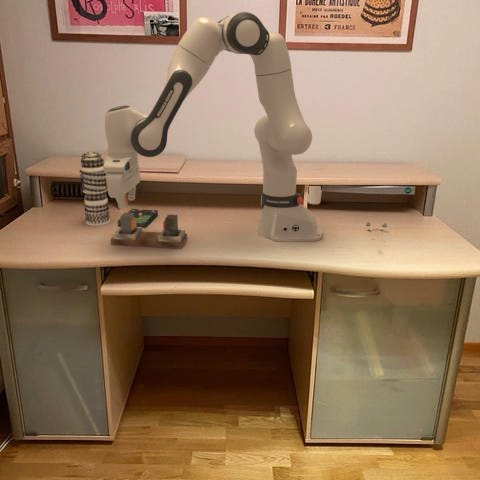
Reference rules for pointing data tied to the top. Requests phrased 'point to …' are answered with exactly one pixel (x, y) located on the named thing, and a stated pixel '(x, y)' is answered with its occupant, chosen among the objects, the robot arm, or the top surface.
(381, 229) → the diorama
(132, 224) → the grey orange block
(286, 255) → the top surface
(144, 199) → the top surface
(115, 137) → the robot arm
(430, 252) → the top surface
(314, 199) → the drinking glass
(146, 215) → the disk drive
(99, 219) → the decorative candle
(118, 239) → the wooden holder stand
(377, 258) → the top surface
